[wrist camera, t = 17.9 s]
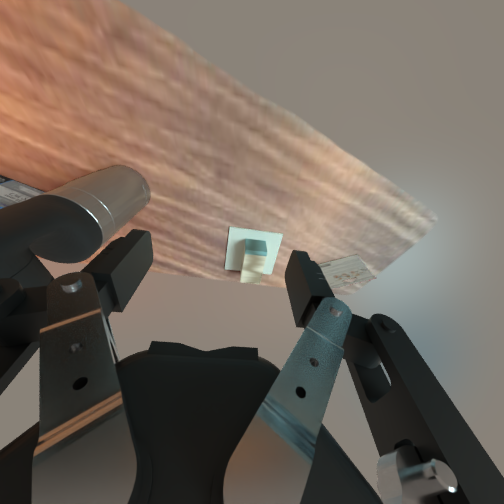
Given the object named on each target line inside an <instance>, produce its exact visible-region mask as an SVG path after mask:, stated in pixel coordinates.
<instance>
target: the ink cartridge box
mask: <svg viewBox="0 0 504 504" xmlns="http://www.w3.org/2000/svg"><path fill="white" fill-rule="evenodd" d="M318 265H319V266H320V268H321V270H322V272H323V275H324V276H325V278H326V280H327V282H328V284H329V286H330V288H331V289H335V288H340V287H344V286H348V285H352V284H356V283H360V282H364V281H368V280H372V279H376V277H375V276H374V275H373V273H372V272H371V271H370V270H369V269H368V268H367V266H366V264H365V263H364V262H363V261H362V259H361V258H360V257H359V255H353V256H349V257H345V258H341V259H337V260H334V261H330V262H326V263H322V264H318ZM352 278H357V279H356V280H354V281H353V282H343V281H344V280H348V279H352Z"/></svg>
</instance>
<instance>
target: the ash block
mask: <svg viewBox="0 0 504 504" xmlns="http://www.w3.org/2000/svg"><path fill="white" fill-rule="evenodd" d="M266 256H267V246H266V241H263V240H255V239H247V238H246V239H245V245H244V252H243V258H242V264H241V272H240V282H243V283H253V284H260V281H261V277H262V273H263V268H264V264H265V260H266Z"/></svg>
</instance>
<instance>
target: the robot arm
mask: <svg viewBox="0 0 504 504" xmlns="http://www.w3.org/2000/svg"><path fill="white" fill-rule="evenodd" d="M149 199H150V190H149V187H148V184H147V182H146V181H145V179H144V178H143V177H142V176H141V175H140V174H139V173H138V172H136V171H135V170H133V169H131V168H129V167H126V166H121V165H116V166H112V167H109V168H107V169H104V170H99V171H96V172H93V173H91V174H88V175H86V176H83V177H80V178H78V179H75V180H73V181H70V182H67V183H66V184H65V185H63V186H61V187H58V188H56V189H53V190H51V191H48V192H46V193H43V194H40V195H38V196H35V197H33V198H30V199H28V200H25V201H22V202H19V203H16V204H13V205H10V206H7V207H4V208H1V209H0V395H1V394H2V393H3V391H4V390H5V389H6V388H7V387H8V385H9V384H10V383H11V382H12V380H13V379H14V378H15V377H16V375H17V374H18V373H19V372H20V370H21V369H22V368H23V367H24V365H25V364H26V363H27V362H28V361H29V359H30V358H31V357H32V356H33V354H34V353H35V352H36V351H37V349H38V348H39V347H40V357H39V358H40V359H39V360H40V361H39V362H40V364H39V367H40V369H39V371H40V372H39V373H40V374H39V375H40V376H39V377H40V378H39V379H40V380H39V381H40V382H39V384H40V386H39V388H40V390H39V392H40V394H39V395H40V396H39V402H40V404H39V407H40V408H39V411H40V412H39V417H40V418H39V422H37V423H36V424H35V425H33V426H32V427H31V428H29V429H28V430H27V431H25V432H24V433H23V434H21V435H20V436H19V437H17V438H16V439H15V440H13V441H12V442H11V443H9V444H8V445H7V446H5V447H4V448H3V449H2V450H0V504H504V478H503V476H502V475H501V473H500V472H499V470H498V469H497V467H496V466H495V464H494V463H493V461H492V460H491V459H490V457H489V455H488V454H487V453H486V451H485V450H484V448H483V447H482V445H481V444H480V442H479V441H478V439H477V438H476V436H475V435H474V434H473V432H472V430H471V429H470V427H469V426H468V424H467V423H466V422H465V420H464V419H463V417H462V416H461V414H460V413H459V411H458V410H457V408H456V407H455V406H454V404H453V402H452V401H451V399H450V398H449V396H448V395H447V394H446V392H445V390H444V389H443V388H442V386H441V385H440V383H439V382H438V380H437V379H436V377H435V376H434V374H433V373H432V371H431V370H430V368H429V367H428V365H427V364H426V362H425V361H424V359H423V358H422V357H421V355H420V354H419V352H418V351H417V349H416V348H415V346H414V345H413V343H412V342H411V340H410V339H409V337H408V336H407V335H406V333H405V332H404V330H403V329H402V327H401V326H400V325H399V324H398V323H397V322H396V321H394V320H393V319H392V318H390V317H388V316H386V315H383V314H374V315H372V317H371V318H370V319H366V318H363V317H360V316H357V315H355V314H352V312H351V310H350V308H349V307H348V306H347V305H346V304H345V303H344V302H343V301H341V300H339V299H337V298H335V296H334V294H333V292H332V290H331V288H330V286H329V284H328V282H327V280H326V278H325V276H324V275H323V272H322V270H321V268H320V266H319V265H318V264H317V263H316V262H315V261H311V260H310V258H309V256H308V253H307V252H305V251H297V250H293V251H292V253H291V256H290V259H289V262H288V265H287V268H286V271H285V282H286V287H287V291H288V295H289V299H290V303H291V307H292V311H293V316H294V320H295V323H296V327H302V328H304V332H303V333H302V335H301V337H300V339H299V340H298V342H297V344H296V346H295V347H294V349H293V351H292V353H291V354H290V356H289V358H288V359H287V361H286V363H285V365H284V366H283V368H282V370H281V371H280V370H279V369H278V368H277V367H276V366H275V365H274V364H272V363H271V362H269V361H268V360H266V359H264V358H261V357H259V356H258V348H249V347H227V348H222V349H217V350H211V351H202V350H199V349H196V348H193V347H190V346H187V345H184V344H181V343H173V342H158V341H152V342H151V345H150V347H149V350H145V351H142V352H138V353H135V354H133V355H130V356H128V357H126V358H124V359H122V360H120V358H119V354H118V351H117V347H116V343H115V340H114V336H113V333H112V329H111V326H110V322H109V319H108V316H109V315H110V313H111V312H123V310H124V308H125V307H126V305H127V304H128V302H129V300H130V299H131V297H132V295H133V294H134V292H135V291H136V289H137V287H138V286H139V284H140V283H141V281H142V279H143V278H144V276H145V275H146V273H147V271H148V270H149V268H150V266H151V265H152V262H153V249H152V241H151V234H150V232H149V231H144V230H137V229H133V230H131V231H130V232H129V233H128V234H127V235H126V236H125V237H120V238H118V239H116V240H114V241H112V242H111V243H110V244H109V245H108V246H107V247H106V248H105V249H103V250H102V251H101V252H100V254H98V255H97V256H96V257H95V258H94V259H93V260H92V261H91V262H90V263H89V264H88V265H87V266H86V267H85V268H84V269H83V270H81V271H80V272H73V273H68V274H65V275H62V276H60V277H58V278H56V279H54V278H53V276H52V275H51V274H50V272H49V271H48V270H47V269H46V268H45V266H44V265H43V264H42V263H41V262H40V260H39V259H38V258H37V257H36V256H35V255H37V256H39V257H41V258H44V259H47V260H50V261H54V262H58V263H78V262H81V261H84V260H86V259H87V258H89V257H90V256H91V255H93V254H94V253H95V252H96V251H97V250H98V249H99V248H100V247H101V246H102V245H104V244H105V243H106V242H107V241H108V240H109V239H110V238H111V237H112V236H113V235H114V234H115V233H116V232H118V231H119V230H120V229H121V228H122V227H123V226H124V225H125V224H126V223H127V222H128V221H130V220H131V219H132V218H133V217H134V216H135V215H136V214H137V213H138V212H139V211H140V210H141V209H143V208H144V207H145V206H146V205H147V203H148V202H149ZM342 358H343V359H346V362H347V365H348V368H349V371H350V373H351V376H352V379H353V382H354V385H355V388H356V390H357V393H358V396H359V399H360V402H361V404H362V407H363V410H364V413H365V416H366V418H367V421H368V424H369V427H370V430H371V433H372V435H373V438H374V441H375V444H376V447H377V450H378V452H379V455H380V459H379V460H378V463H377V476H378V481H377V487H378V490H379V493H380V495H381V499H380V497H379V496H378V495H377V493H376V492H375V491H374V489H373V488H372V487H371V485H370V484H369V483H368V482H367V481H366V479H365V478H364V477H363V475H362V474H361V473H360V471H359V470H358V469H357V467H356V466H355V465H354V464H353V462H352V461H351V460H350V458H349V457H348V456H347V455H346V453H345V452H344V451H343V449H342V448H341V447H340V446H339V444H338V443H337V442H336V440H335V439H334V438H333V437H332V435H331V434H330V433H329V431H328V430H327V429H326V428H325V426H324V425H323V424H322V420H323V417H324V414H325V411H326V407H327V404H328V401H329V398H330V395H331V392H332V389H333V386H334V383H335V379H336V376H337V373H338V370H339V367H340V364H341V360H342ZM381 362H382V363H383V365H384V367H385V369H386V371H387V373H388V375H389V377H390V380H391V386H390V383H389V382H388V380H387V377H386V375H385V374H384V371H383V369H382V367H381V365H380V363H381Z"/></svg>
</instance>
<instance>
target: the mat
mask: <svg viewBox="0 0 504 504" xmlns="http://www.w3.org/2000/svg"><path fill="white" fill-rule="evenodd" d="M282 236H283V234H281V233H274V232H267V231H260V230H252V229H245V228H238V227H231V226H230V229H229V237H228V246H227V254H226V262H225V269H227V270H236V271H241V264H242V258H243V252H244V245H245V239H246V238H247V239H255V240H263V241H266V246H267V256H266V260H265V264H264V268H263V274H271V273H272V270H273V267H274V263H275V260H276V256H277V253H278V250H279V246H280V243H281V239H282Z"/></svg>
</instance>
